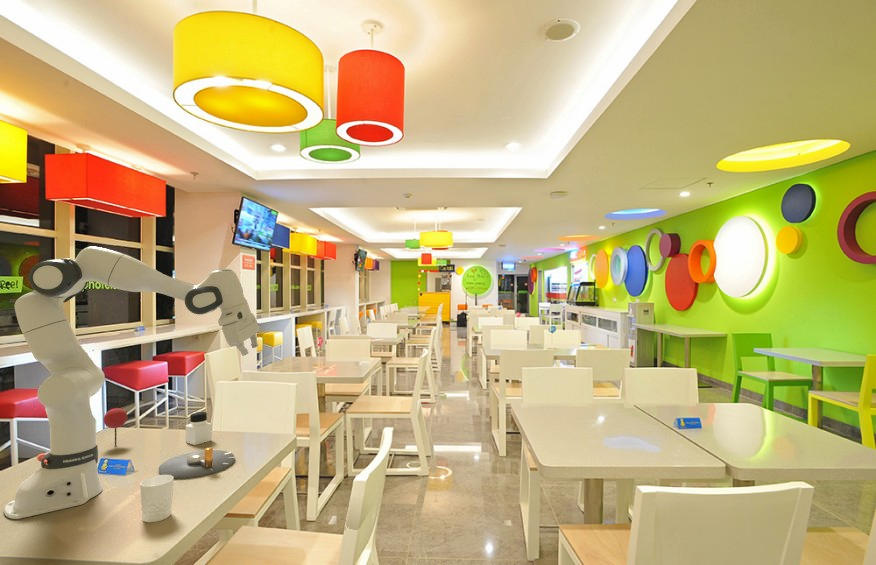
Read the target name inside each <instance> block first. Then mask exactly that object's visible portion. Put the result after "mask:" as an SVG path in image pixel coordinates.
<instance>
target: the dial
mask: <svg viewBox="0 0 876 565" xmlns="http://www.w3.org/2000/svg"><path fill="white" fill-rule="evenodd" d="M213 450H214V449H213V447H205V448H204V450H203V451H204V452H198V451H196V452H197V453H192V452H191V453H192V454H190V455H188V456H187V464H190V465H195V464H202V465H204V467H205V468H209V467H212V466H213Z"/></svg>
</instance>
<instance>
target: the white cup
mask: <svg viewBox="0 0 876 565" xmlns="http://www.w3.org/2000/svg"><path fill="white" fill-rule="evenodd" d="M173 478H174V477H173V476H171V475H160V474H158V475H152V476H150V477H147V478H145V479H143V480H141V481H140V483H139V487H140V504H141V511H142V514H141V515H142V516H141V517H142V520H143V522H144V523H157V522H161V521H164V520H165V519H167V518H169V517H170V516H171V514H172V504H173V496H174V495H173V494H174V493H173V492H174V479H173Z"/></svg>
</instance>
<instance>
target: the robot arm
mask: <svg viewBox="0 0 876 565" xmlns="http://www.w3.org/2000/svg"><path fill="white" fill-rule="evenodd" d="M89 282H94V283H98V284H102V285H104V286H108V287H109V288H110V287H111V288H114V289H116V290H120V291H126V292H133V293H143V292H145V293H146V292H149V293H156V294H157V293H158V294H162V295H165V296H168V297H171V298H174V299H177V300H180V301H183V302H184V305H185V308H186V310H188V311H189V312H191V313H192V314H194V315H206V314H208V313H212V312H214V311H215V310H217V309H220V312H221V315H220V317H219V318H218V320H217V323H218V325H219V327H221V329H222V333H223V336H224V338H225V341H226V342H227V344H228V346H229V347H236V348H237V350H239V352H240V354H241V356H244V357H245V356H246V355H248V354H249V351H248V350H249V349H248V348H247V347H246V346H245V341H247V340H248V339H250V342H251V343H250V346H251V348H252V349H256V348H258V347H259V344H258V336H257V333H259V332H260V330H261V329H260V326H259V323H258V319H257V318H256V316H255V314H254V313H252V311H251V309H250V306H249V303H248V300H247V299H246V297H245V295H244V289H243V287H242V286H243V285H242V284H241V282H240V279H239V277H238V275H237V273H236V272H235V271H234V270H232V269H229V268H227V269H218V270H212V271H210V272H209V274H208V276H206V278H204V279H203V280H202V281H201V282H200V283H198V284H193V283H189V282H187V281H186V282H185V281H184V280H180V279H177V278H174V277H172V276H169V275H166V274H163V272H160V271H158V270H157V269H156V268H153V267H152V266H150V265H149V264H147V263H145V262H143V261H141V260H139V259H137V258H135V257H133V256H130V255H128V254H126V253H122V252H119V251H117V250H112V249H108V248H105V247H98V246H92V245H91V246H87V247H85V248H83V249H81V250H80V251H79V252H78V254H77V255H76V257H75V258H74V259H71V258H57V259H47V260H44V261H40V262H39V263H37V264H35V265H34V266H33V267H32V268H31V269H30V271H29V273H28V283H29V285H30V287H31V288H32V289H33V290H32V291H30V292H28V293H25V294H23V295H22V296H19V298H17V299H16V301H15V303H14V311H15V316H16V318H17V323H18V325H19V329H20V330H21V333H22V334H23V337H24V339H25V341H26V343H27V345H28V347H29V349H30V351H31V354H32V355H33V358H34V359H35V360H36V361H37V362H38V363H41V365H43V367H44V368H46V369H47V370H48V372H49V373H50V375H49V376H48V377H47V378H46V379H44V381H42V382H41V384H40V386H39V387H38V389H37V393H36V395H37V399H38V401H39V403H40V404H41V405H42V406H43V407H44V410H45V412H46V416H47V419H48V420H47V421H48V424H49V442H50V443H49V452H48V453H46V454H45V453H39V454H38V455H37V457H36V459H37V460H38V462H40V466H41V467H40V468H39V469H37V470H36V471H35V472H33V473H32V474H31V475H30V476H29V477H27V478H26V479H24V480H23V481H22V482H21V483H20V484H19V486H18V488H17V489H16V492H15V496H14V499H13V500H10V501H9V502H8V503H6V504H5V505H4V511H3V513H4V515H5V516H6V517H7V518H9V519H11V520H12V519H13V520H20V519H24V518H25V519H26V518H29V517H32V516H37V515H38V516H39V515H43V514H46V513H50V512H55V511H60V510H65V509H69V508H73V507H76V506H81V505H83V504H86V503H87V502H88V501H89V500H90V499H92V498H94V497H95V496H97V495H99V494H100V493H101V492H102V491H103V486H102V483H101V481H100V477H99V472H98V471H99V470H98V463H99V462H98V460H99V447H98V444H97V420H96V418H95V417H94V415H93V412H92V408H91V404H90V399H91V397H94V395H96V394H97V393H98V392H99V391H100V390H101V388H103V385H104V383H105V380H106V377H105V373H104V371H103V370H102V368H100V367H99V366H98V365H96V363H94V361H93V360H92V358H91V357H90V356H89V354H88V353H87V351H86V350H85V349H84V348H83V346H82V345H81V343H80V342H79V340H78V337H77V335H76V333H75V332H74V330H73V327H72V325H71V324H70V320H69V318H68V316H67V315H66V312H65V311H64V308H63V306H64V305H63V304H64V303H66V302H69V301H70V300H72V299H73V298H74V297H76V296H78V295H80V294H81V293H82V292H84V290H85V289H86V288H87V286H88V284H89Z"/></svg>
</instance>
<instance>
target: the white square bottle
mask: <svg viewBox="0 0 876 565" xmlns="http://www.w3.org/2000/svg"><path fill="white" fill-rule="evenodd" d="M207 414H208V413H207V412H206V411H201V410H200V411H195V412H192V413H191V414H190V416H189V417H190V418H189V419H190V421H189V422H190V423H189V424H186V425H185V443H187V444H189V443H190V444H189V445H193V446H197V445H201V444H204V442H205V443H208V442H210V441H212V423H211V422H208V417H207V416H208V415H207Z"/></svg>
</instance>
